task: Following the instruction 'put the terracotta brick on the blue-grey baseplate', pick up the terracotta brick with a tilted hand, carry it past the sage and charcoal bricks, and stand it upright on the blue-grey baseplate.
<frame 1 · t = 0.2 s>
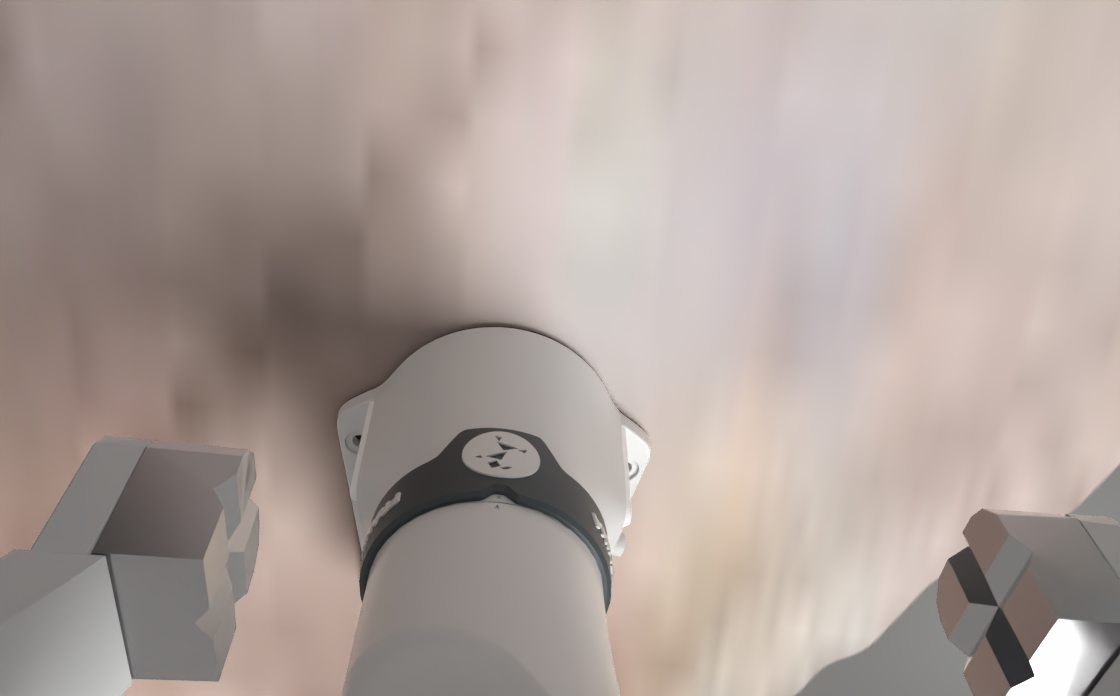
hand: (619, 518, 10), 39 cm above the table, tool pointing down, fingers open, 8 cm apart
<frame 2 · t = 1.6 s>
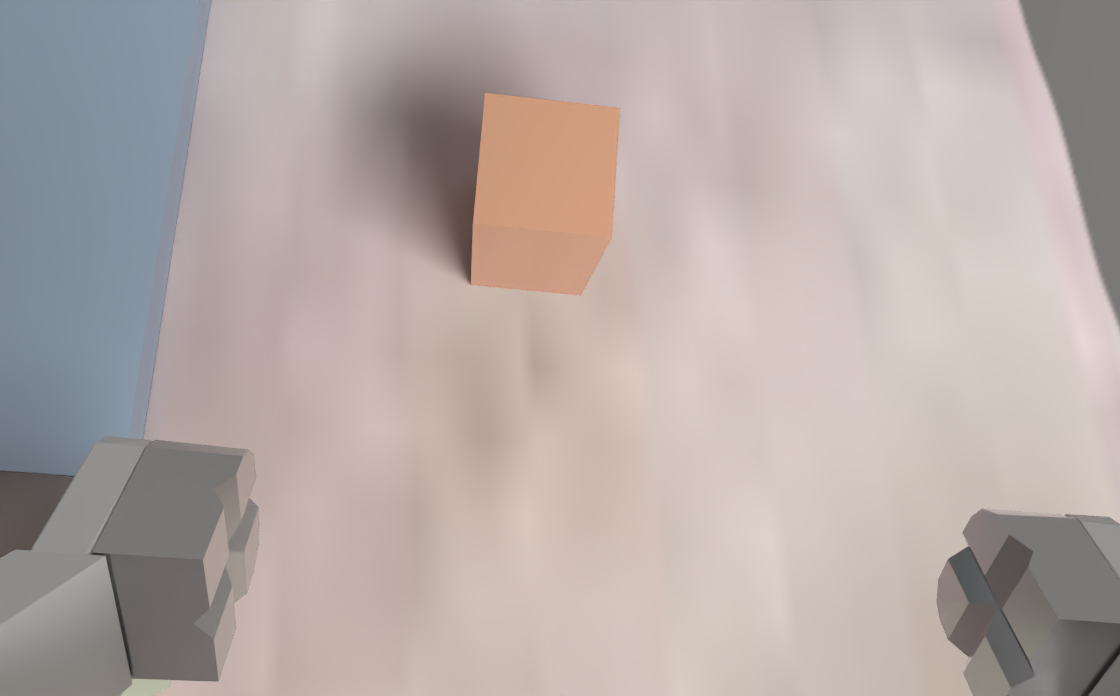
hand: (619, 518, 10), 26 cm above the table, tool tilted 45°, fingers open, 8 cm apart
sage brick: (115, 618, 34), on the table
terracotta brick: (530, 237, 38), on the table
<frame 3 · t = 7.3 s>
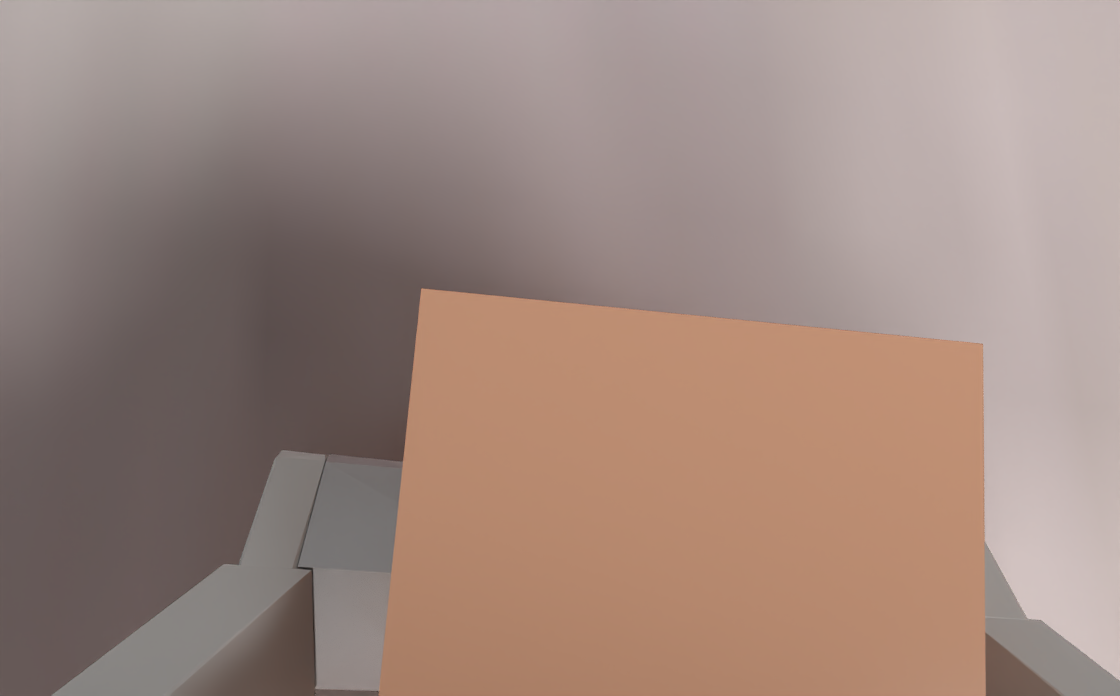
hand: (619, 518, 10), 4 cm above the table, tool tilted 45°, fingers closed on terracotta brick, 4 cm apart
terracotta brick: (567, 557, 15), on the table, touching gripper
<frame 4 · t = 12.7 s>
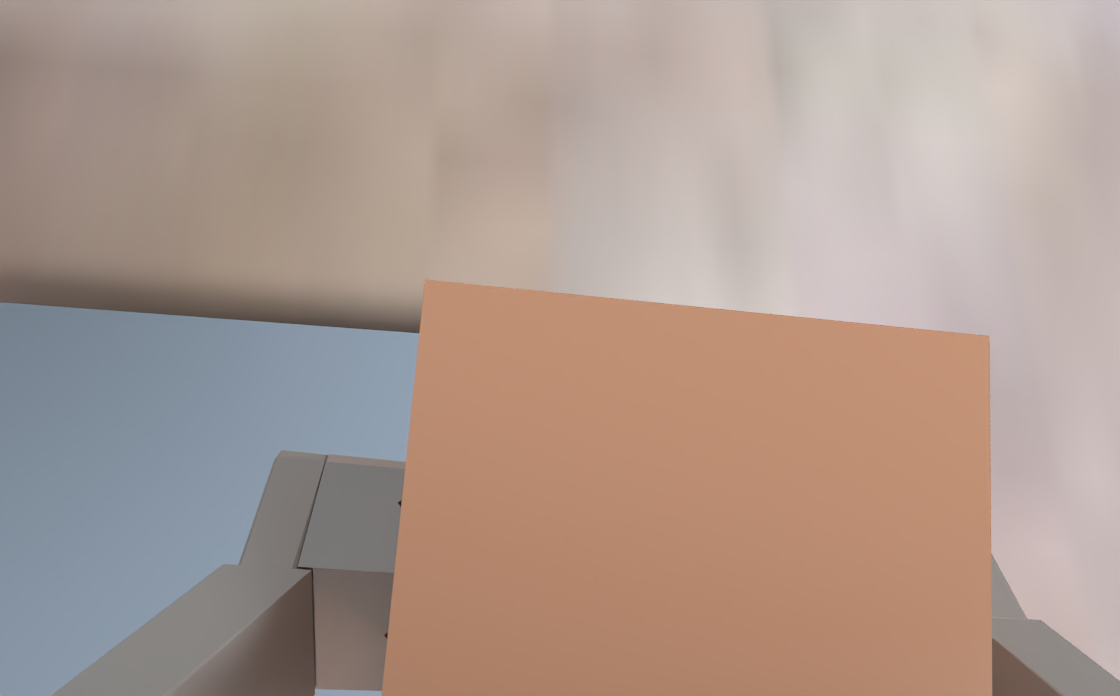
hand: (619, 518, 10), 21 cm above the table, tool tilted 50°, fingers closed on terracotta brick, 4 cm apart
blue-grey baseplate: (257, 636, 30), on the table
terracotta brick: (569, 553, 15), point 17 cm above the table, touching gripper
when the fingers open (7 cm above the table, at t = 18.0 s): terracotta brick stays where it is, resting on blue-grey baseplate.
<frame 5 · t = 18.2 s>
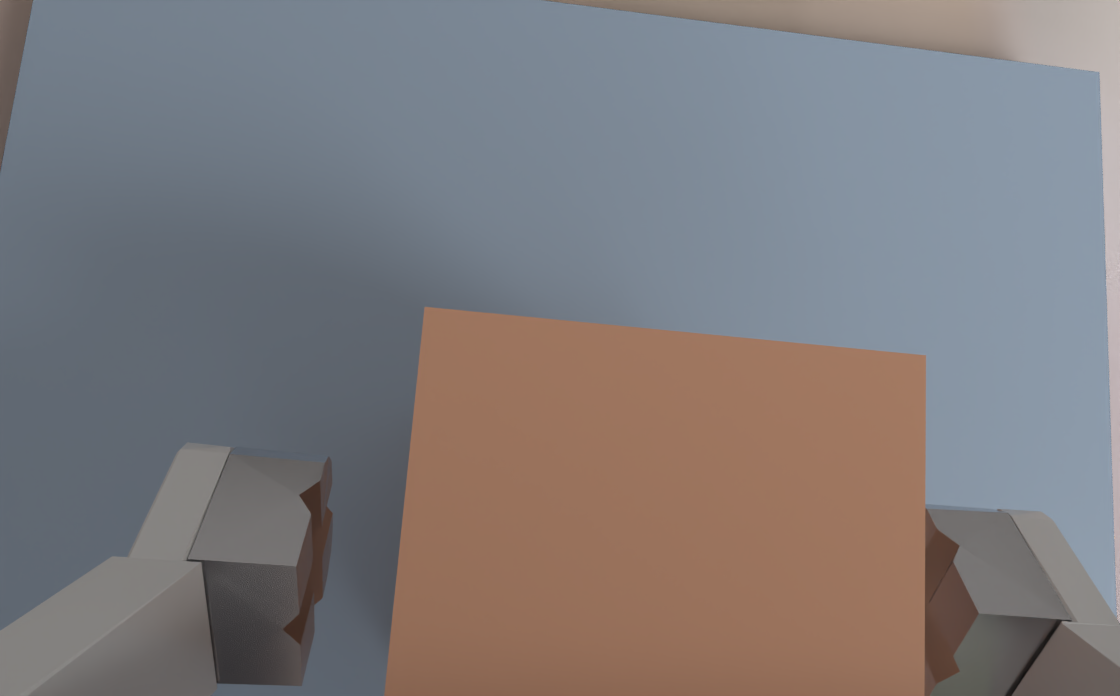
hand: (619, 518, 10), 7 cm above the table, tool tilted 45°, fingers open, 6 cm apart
blue-grey baseplate: (553, 547, 17), on the table
terracotta brick: (561, 550, 16), point 1 cm above the table, touching blue-grey baseplate
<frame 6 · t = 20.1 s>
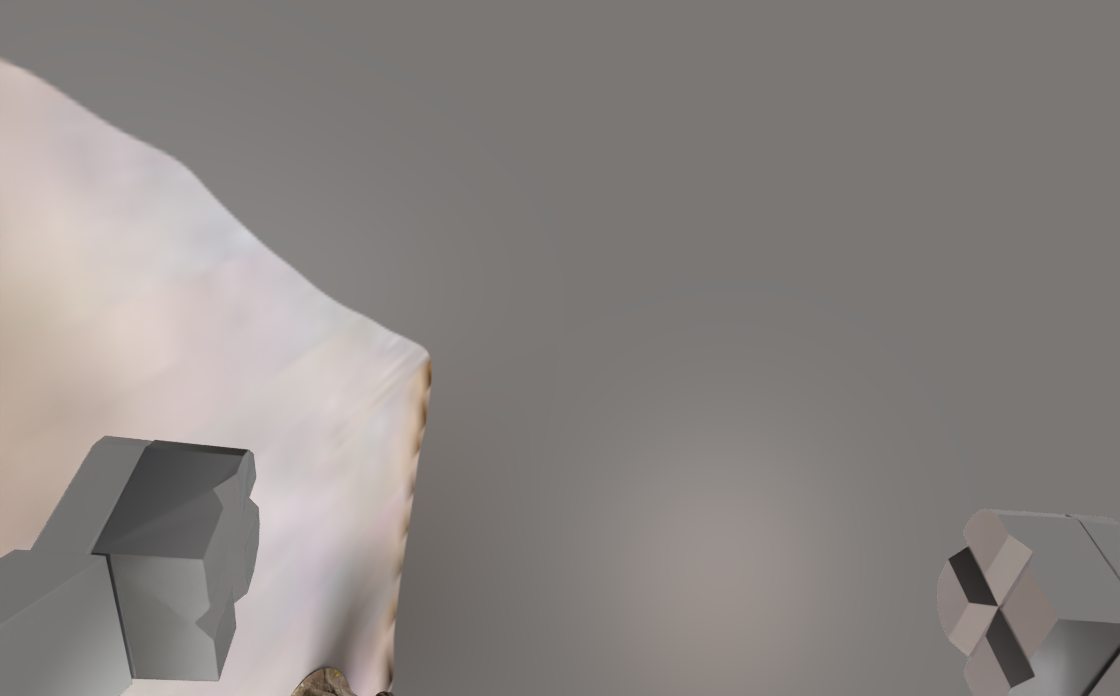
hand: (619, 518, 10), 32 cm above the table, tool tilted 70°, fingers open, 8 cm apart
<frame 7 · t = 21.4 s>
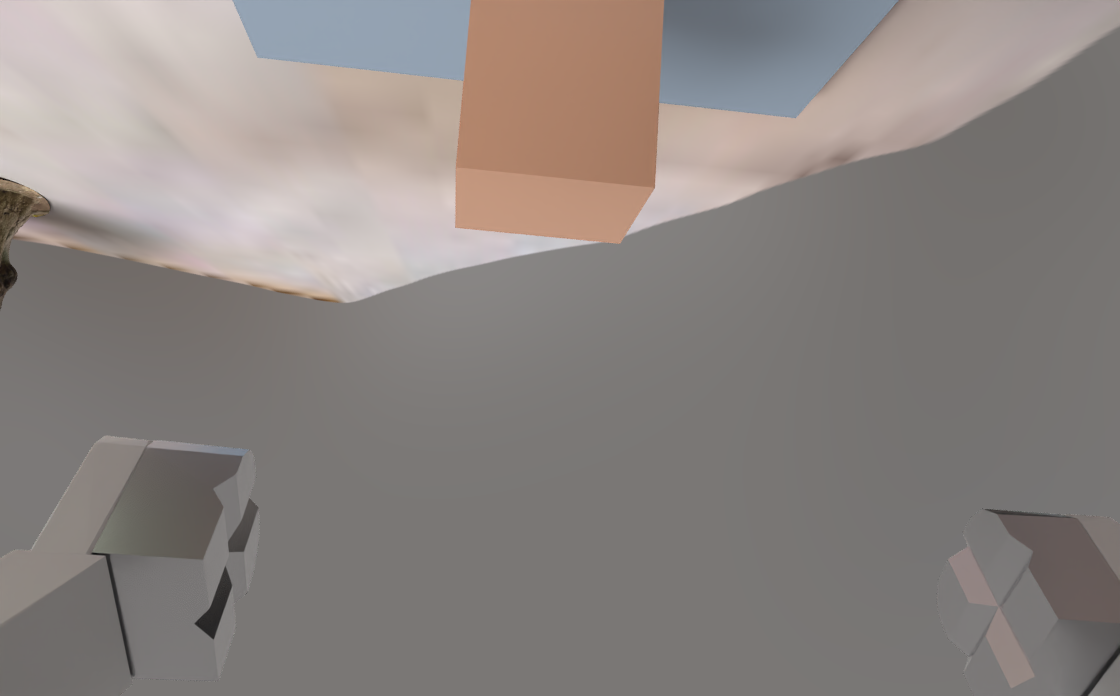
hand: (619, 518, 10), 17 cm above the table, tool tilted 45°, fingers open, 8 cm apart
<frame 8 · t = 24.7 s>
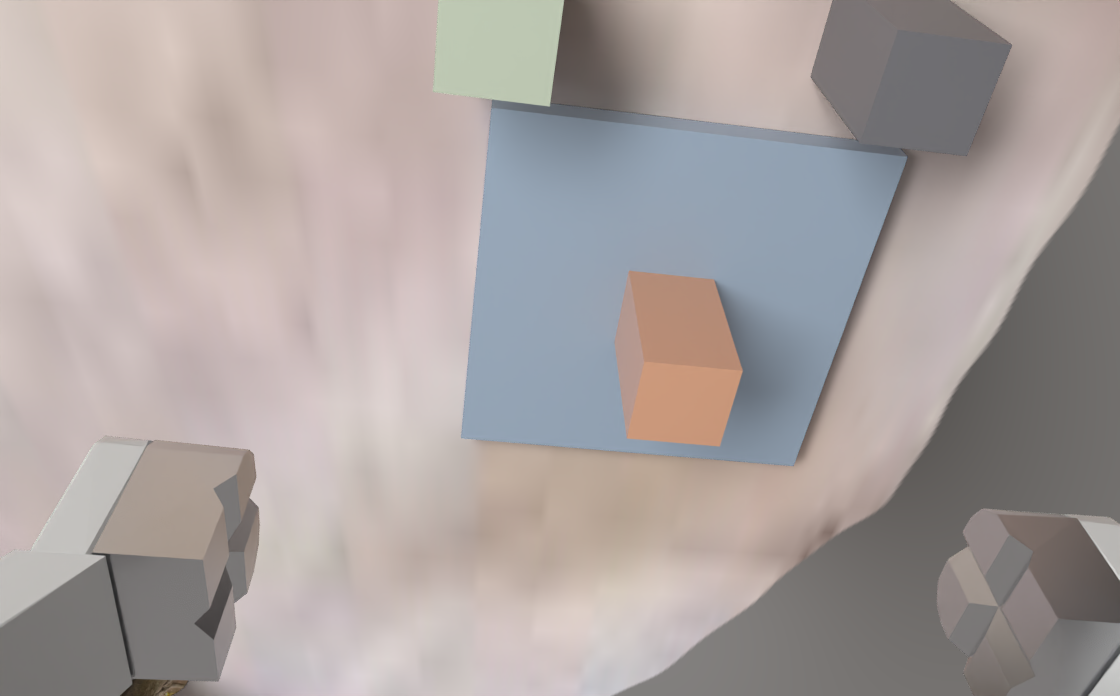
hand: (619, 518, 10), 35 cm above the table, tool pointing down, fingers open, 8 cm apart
tree stump: (121, 656, 67), on the table
blue-grey baseplate: (659, 296, 50), on the table
terracotta brick: (663, 311, 49), point 1 cm above the table, touching blue-grey baseplate
charcoal brick: (871, 34, 42), on the table
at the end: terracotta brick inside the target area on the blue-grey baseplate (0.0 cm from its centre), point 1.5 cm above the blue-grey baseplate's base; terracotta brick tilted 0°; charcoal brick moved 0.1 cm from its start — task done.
